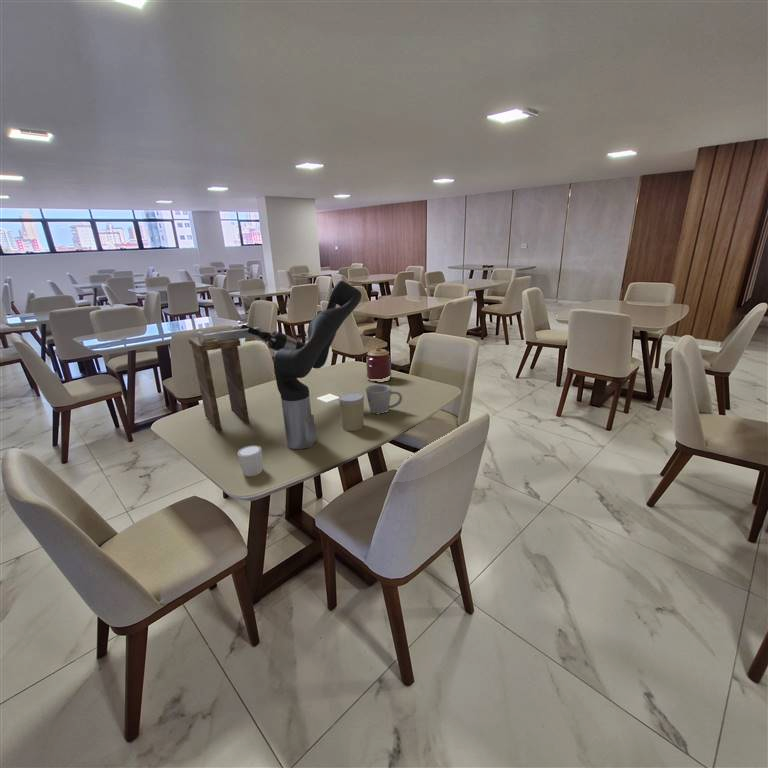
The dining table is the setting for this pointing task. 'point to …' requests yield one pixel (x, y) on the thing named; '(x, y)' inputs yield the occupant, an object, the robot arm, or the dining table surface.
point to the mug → (380, 398)
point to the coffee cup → (351, 411)
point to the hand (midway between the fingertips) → (245, 328)
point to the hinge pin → (225, 335)
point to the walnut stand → (232, 378)
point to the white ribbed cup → (250, 460)
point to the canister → (378, 364)
